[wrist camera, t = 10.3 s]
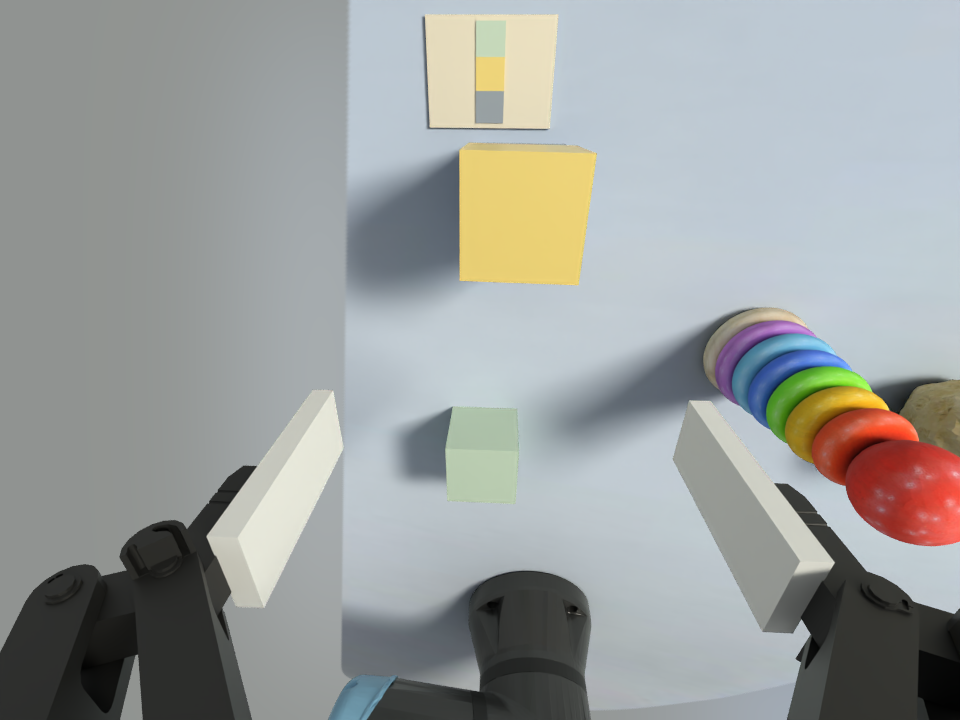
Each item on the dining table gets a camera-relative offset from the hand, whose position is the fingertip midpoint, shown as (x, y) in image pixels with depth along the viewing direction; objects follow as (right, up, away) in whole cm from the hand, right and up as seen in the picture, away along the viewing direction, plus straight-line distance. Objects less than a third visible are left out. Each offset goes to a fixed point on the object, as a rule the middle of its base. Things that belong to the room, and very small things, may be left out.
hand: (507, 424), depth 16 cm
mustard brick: (+1, +12, +9) cm, 15 cm away
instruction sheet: (0, +21, +11) cm, 24 cm away
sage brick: (-1, -5, +26) cm, 26 cm away
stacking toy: (+21, +4, +20) cm, 29 cm away
